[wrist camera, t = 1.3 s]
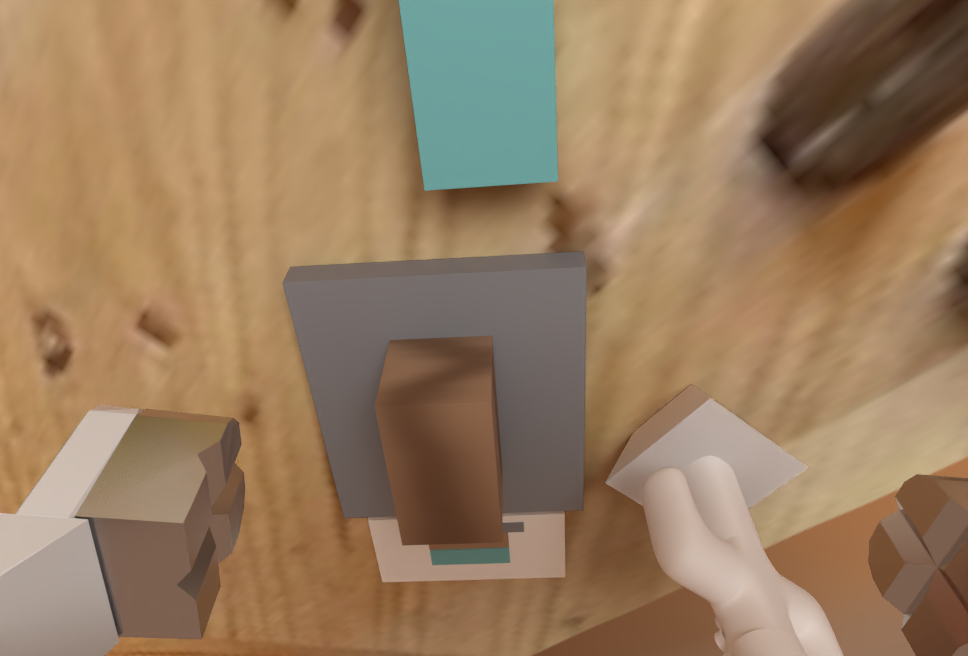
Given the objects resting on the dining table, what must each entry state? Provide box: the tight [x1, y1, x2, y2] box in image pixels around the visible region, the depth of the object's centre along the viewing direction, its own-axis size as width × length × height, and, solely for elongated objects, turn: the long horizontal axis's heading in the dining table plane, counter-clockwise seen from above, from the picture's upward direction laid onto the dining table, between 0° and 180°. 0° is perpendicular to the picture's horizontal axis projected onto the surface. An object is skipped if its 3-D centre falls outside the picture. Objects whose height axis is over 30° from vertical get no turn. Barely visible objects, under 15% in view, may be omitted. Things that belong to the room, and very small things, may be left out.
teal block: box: [399, 0, 558, 191], centre depth 26 cm, size 5×9×5 cm, turn 5°
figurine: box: [605, 384, 843, 656], centre depth 33 cm, size 7×9×15 cm
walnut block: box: [375, 335, 503, 546], centre depth 35 cm, size 5×9×5 cm, turn 4°
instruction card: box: [368, 511, 565, 582], centre depth 45 cm, size 12×6×1 cm, turn 94°
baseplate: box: [283, 252, 587, 518], centre depth 37 cm, size 14×16×2 cm
